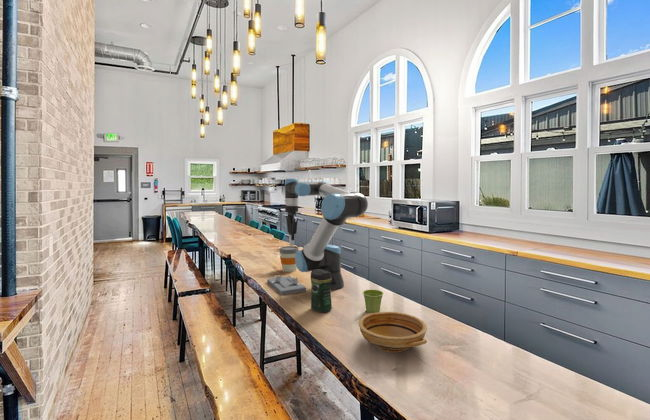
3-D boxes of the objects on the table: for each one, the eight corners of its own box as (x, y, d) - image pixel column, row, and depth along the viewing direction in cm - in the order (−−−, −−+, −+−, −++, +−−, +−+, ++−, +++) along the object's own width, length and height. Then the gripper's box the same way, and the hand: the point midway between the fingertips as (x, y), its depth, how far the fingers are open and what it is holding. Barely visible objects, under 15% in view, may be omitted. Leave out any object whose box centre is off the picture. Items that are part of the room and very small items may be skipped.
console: (306, 291, 193) (306, 287, 193) (281, 295, 187) (281, 291, 187) (289, 279, 217) (289, 275, 217) (267, 282, 211) (267, 278, 211)
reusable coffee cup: (298, 272, 232) (297, 249, 231) (278, 272, 232) (278, 249, 231) (299, 267, 244) (299, 246, 243) (281, 268, 245) (280, 246, 243)
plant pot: (385, 309, 166) (385, 290, 165) (380, 316, 157) (380, 297, 156) (366, 306, 170) (366, 288, 169) (359, 313, 161) (359, 294, 160)
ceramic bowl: (341, 338, 136) (341, 317, 136) (389, 323, 149) (389, 305, 148) (395, 373, 111) (395, 348, 111) (447, 352, 124) (448, 330, 123)
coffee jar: (334, 310, 165) (334, 270, 164) (321, 314, 160) (321, 273, 158) (321, 304, 173) (320, 266, 171) (308, 308, 167) (307, 269, 166)
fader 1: (280, 281, 204) (280, 275, 204) (275, 282, 203) (275, 276, 202) (279, 280, 206) (279, 275, 205) (274, 281, 204) (274, 275, 204)
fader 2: (297, 283, 199) (297, 277, 199) (292, 284, 198) (292, 278, 198) (296, 282, 201) (296, 277, 201) (291, 283, 200) (291, 277, 200)
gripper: (281, 204, 212) (281, 244, 215) (289, 206, 201) (290, 248, 203) (293, 204, 216) (293, 242, 218) (302, 205, 204) (302, 246, 207)
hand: (292, 245), depth 211 cm, fingers closed
